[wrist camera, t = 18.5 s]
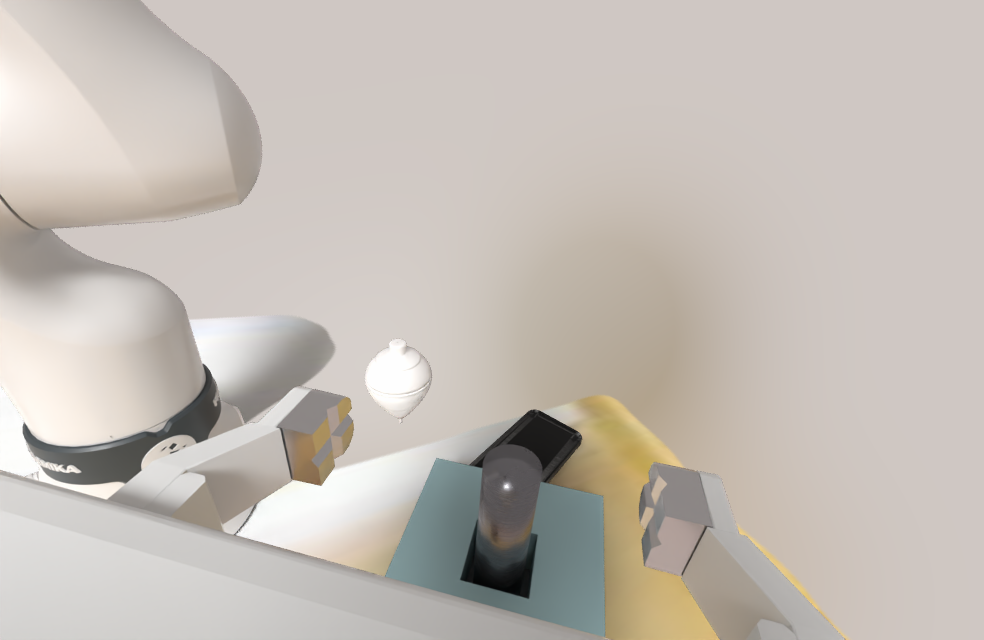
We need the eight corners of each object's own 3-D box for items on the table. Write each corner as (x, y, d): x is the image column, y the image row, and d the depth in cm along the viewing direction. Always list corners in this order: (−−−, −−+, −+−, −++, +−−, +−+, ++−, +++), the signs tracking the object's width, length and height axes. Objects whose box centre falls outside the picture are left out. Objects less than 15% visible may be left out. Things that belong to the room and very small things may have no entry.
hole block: (363, 682, 31) (356, 640, 28) (435, 498, 45) (436, 458, 42) (587, 753, 28) (606, 716, 25) (590, 536, 42) (603, 496, 39)
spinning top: (426, 447, 51) (427, 364, 45) (361, 443, 50) (353, 359, 44) (434, 404, 57) (436, 327, 51) (377, 400, 57) (371, 322, 51)
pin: (462, 597, 35) (470, 471, 28) (489, 559, 38) (503, 436, 31) (502, 629, 34) (523, 503, 26) (527, 587, 36) (552, 462, 29)
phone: (585, 435, 53) (516, 516, 43) (583, 442, 54) (515, 523, 43) (532, 406, 57) (457, 474, 47) (531, 413, 58) (457, 481, 47)
